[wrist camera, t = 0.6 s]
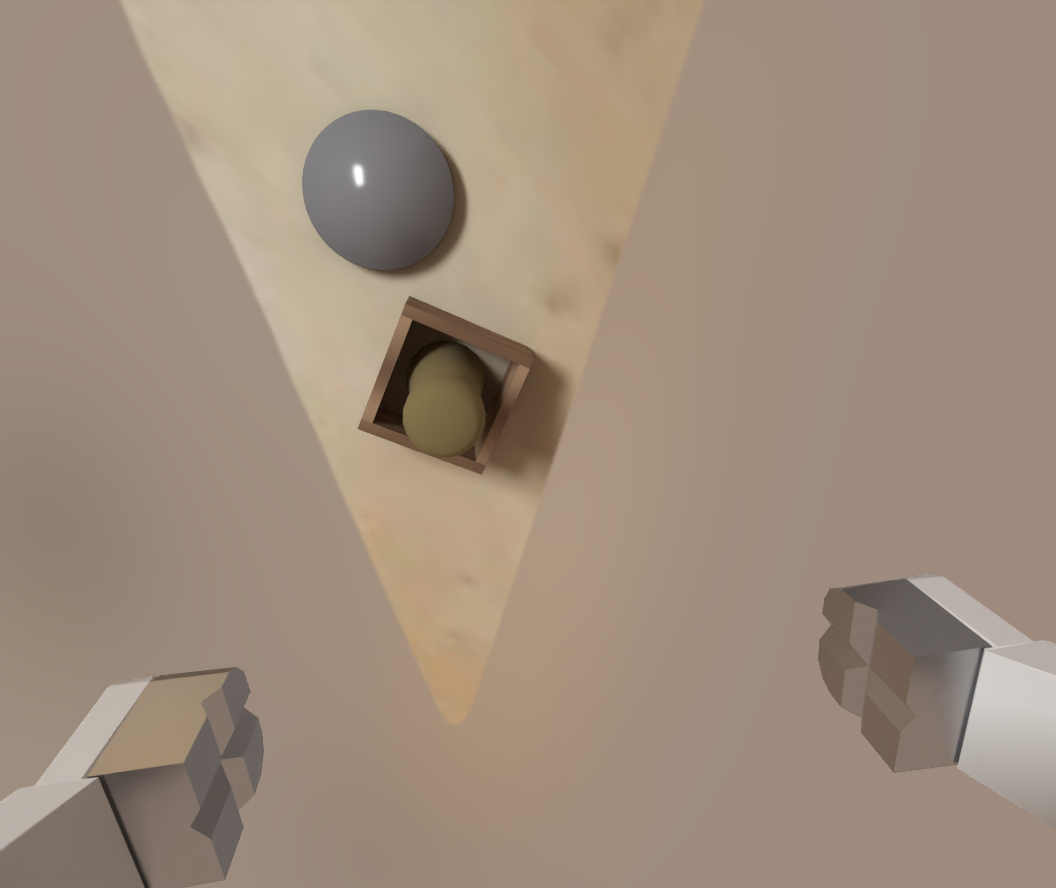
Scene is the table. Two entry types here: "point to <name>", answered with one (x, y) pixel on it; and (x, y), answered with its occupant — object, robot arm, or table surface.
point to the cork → (445, 399)
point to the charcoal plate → (378, 190)
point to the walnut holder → (519, 355)
